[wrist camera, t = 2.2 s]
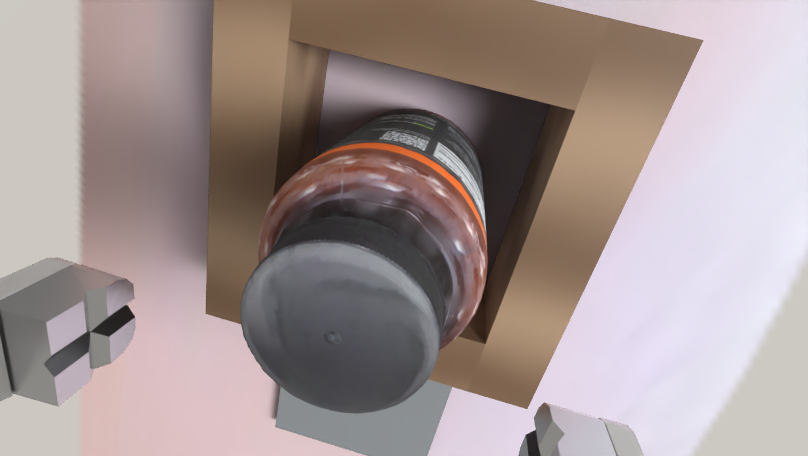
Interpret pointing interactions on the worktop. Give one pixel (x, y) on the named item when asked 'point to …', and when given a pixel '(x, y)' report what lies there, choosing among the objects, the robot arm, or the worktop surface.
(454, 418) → the worktop surface
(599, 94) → the frame
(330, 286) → the supplement bottle
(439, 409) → the grey mat
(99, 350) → the robot arm
